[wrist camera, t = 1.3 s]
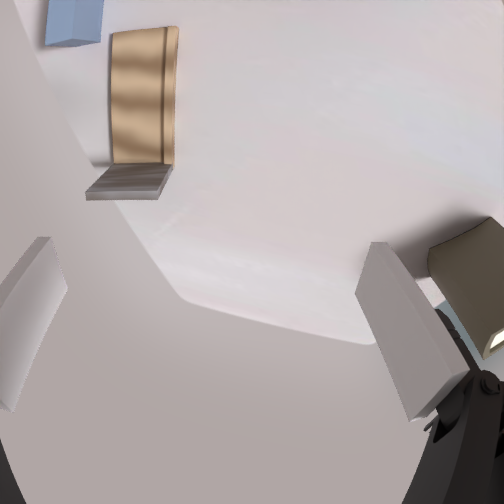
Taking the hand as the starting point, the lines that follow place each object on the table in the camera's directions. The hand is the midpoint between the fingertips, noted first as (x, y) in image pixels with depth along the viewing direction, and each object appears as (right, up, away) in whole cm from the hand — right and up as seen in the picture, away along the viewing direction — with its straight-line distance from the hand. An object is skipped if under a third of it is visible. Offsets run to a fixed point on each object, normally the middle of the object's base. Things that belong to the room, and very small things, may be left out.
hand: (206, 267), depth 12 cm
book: (+53, +2, +50) cm, 73 cm away
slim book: (-24, +38, +19) cm, 49 cm away
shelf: (-15, +24, +29) cm, 41 cm away
